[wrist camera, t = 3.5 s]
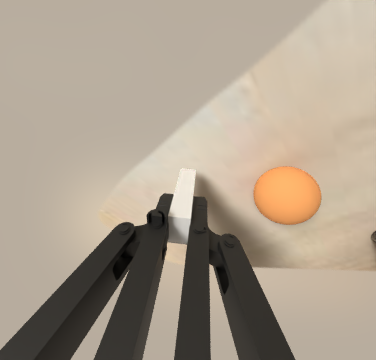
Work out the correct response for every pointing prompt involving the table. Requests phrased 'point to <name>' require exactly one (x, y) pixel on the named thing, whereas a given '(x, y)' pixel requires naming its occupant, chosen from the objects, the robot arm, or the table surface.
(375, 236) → the post
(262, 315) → the robot arm
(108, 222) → the table surface
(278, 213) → the ball
